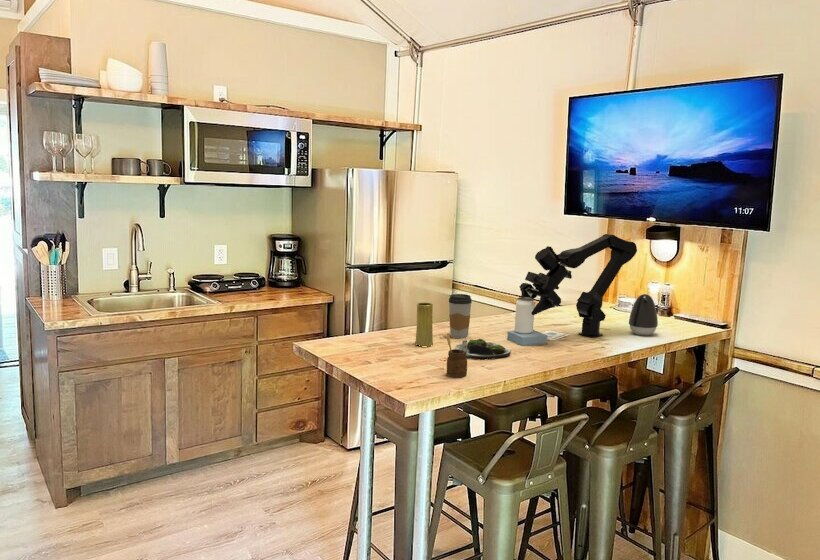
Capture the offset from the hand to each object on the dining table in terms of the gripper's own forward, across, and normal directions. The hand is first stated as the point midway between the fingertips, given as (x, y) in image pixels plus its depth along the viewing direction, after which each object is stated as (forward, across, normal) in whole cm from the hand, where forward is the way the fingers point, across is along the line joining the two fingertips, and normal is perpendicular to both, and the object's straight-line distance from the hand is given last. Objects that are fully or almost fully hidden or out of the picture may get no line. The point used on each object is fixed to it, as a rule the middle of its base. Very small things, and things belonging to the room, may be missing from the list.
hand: (524, 311), depth 226 cm
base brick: (+7, 0, +9) cm, 11 cm away
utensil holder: (+36, +27, -20) cm, 49 cm away
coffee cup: (+20, -14, -5) cm, 26 cm away
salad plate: (+23, +8, -7) cm, 25 cm away
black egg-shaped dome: (-27, +5, +43) cm, 51 cm away
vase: (+32, -8, -17) cm, 37 cm away
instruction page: (-3, -5, +18) cm, 19 cm away
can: (+5, -2, +6) cm, 8 cm away
